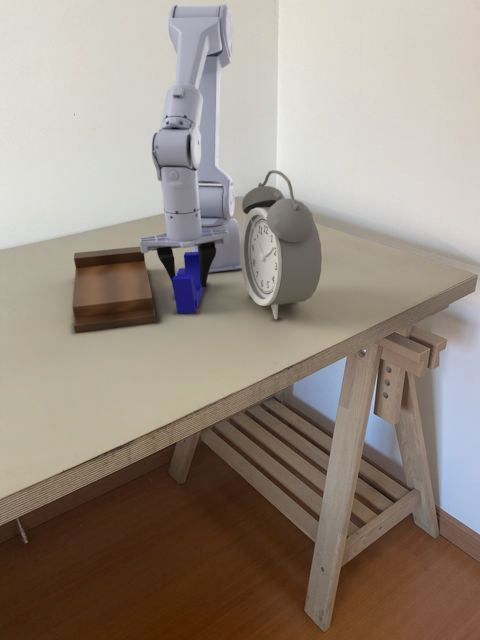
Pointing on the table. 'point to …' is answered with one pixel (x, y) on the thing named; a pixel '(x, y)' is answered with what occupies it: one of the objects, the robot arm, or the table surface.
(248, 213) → the alarm clock
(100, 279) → the step shelf
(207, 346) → the table surface
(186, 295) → the blue curved notched block
